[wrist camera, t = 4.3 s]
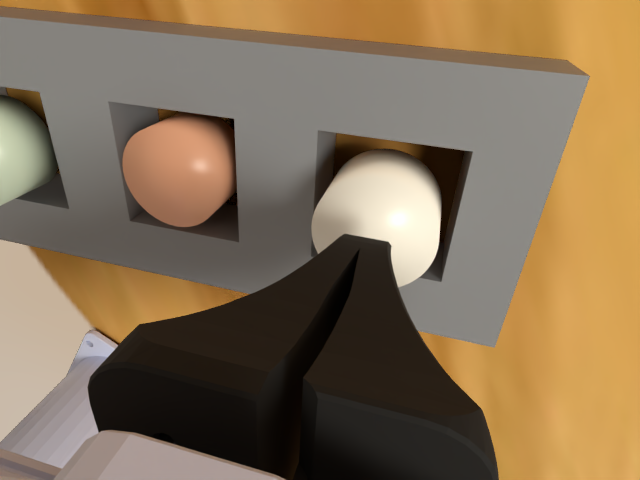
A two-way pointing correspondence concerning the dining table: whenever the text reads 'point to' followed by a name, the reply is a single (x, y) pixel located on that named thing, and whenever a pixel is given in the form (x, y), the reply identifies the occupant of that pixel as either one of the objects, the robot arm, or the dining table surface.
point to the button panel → (287, 148)
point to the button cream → (384, 209)
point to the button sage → (23, 150)
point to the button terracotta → (182, 167)
